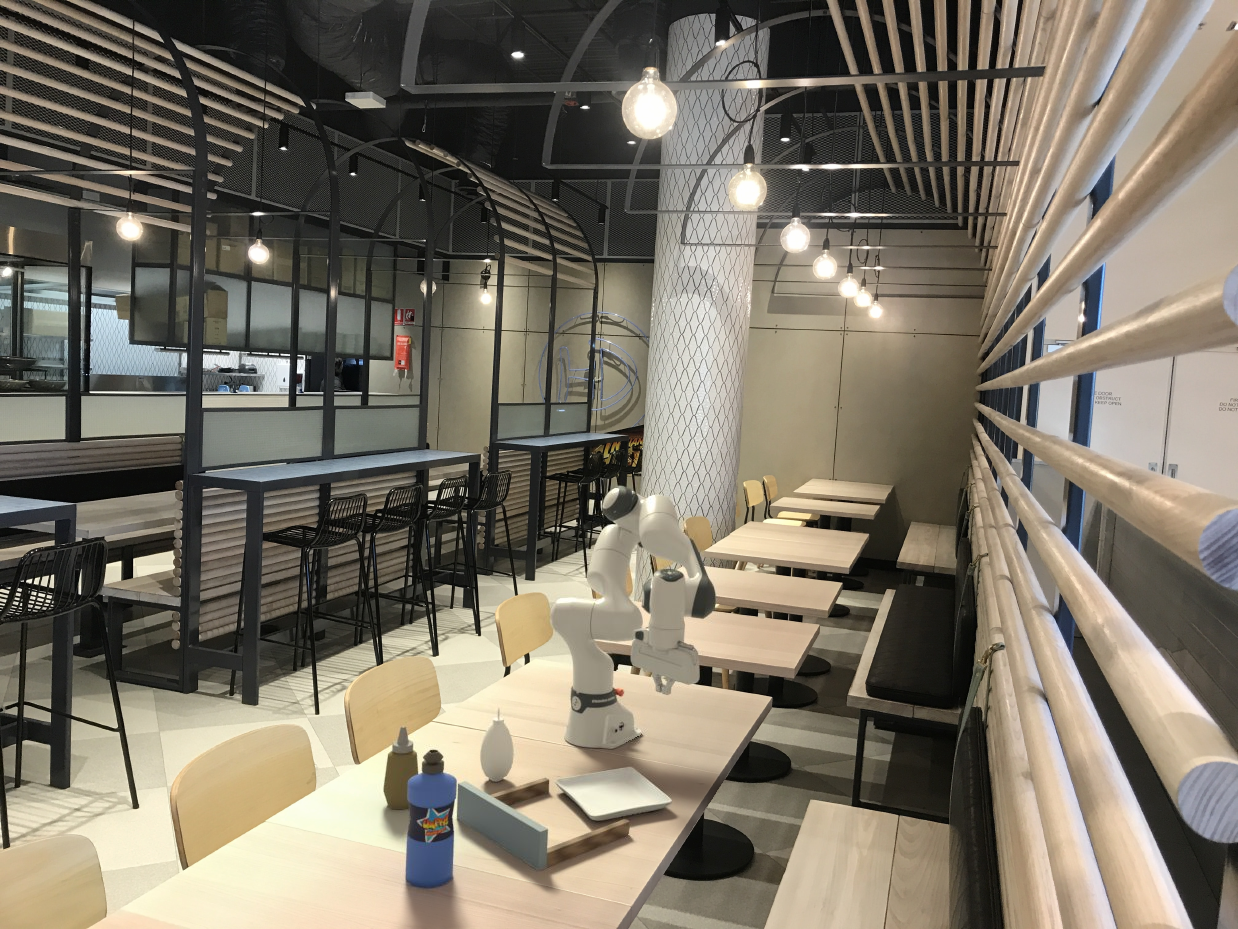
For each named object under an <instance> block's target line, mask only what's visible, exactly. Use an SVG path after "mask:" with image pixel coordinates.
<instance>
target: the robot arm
mask: <svg viewBox="0 0 1238 929" xmlns="http://www.w3.org/2000/svg"><path fill="white" fill-rule="evenodd" d="M601 510H602V511H601V512H602V514H603V515H604V516H605V517H606V518H607V519H608V520H609V521H611V522H613V523H614V524H608V525H606V526H604V528H603V529H602V530H601V532H600V534H599V535H598V538H597V540H596V542H595V544H594V547H593V550H592V554H591V557H590V561H589V565H588V569H587V571H586V581H587V584H588V586H589V587H590V588H591V589H592V590H593V591H594V592H595V593H596V594H598V595H600V596H602V597H600V598H595V597H594V598H593V597H582V596H568V597H567V596H565V597H560V598H558V599H557V600H556V601H555V602H553V605H552V607H551V609H550V611H549V622H550V625H551V627H552V629H553V630H554V632H555V633H557V635H559V636H560V637H561V638H562V640H563V641H564V643H565V645H566V646H567V648H568V650H569V653H570V656H571V660H572V686H571V688H570V709H569V710H570V711H569V717H568V723H567V725H566V730H565V733H564V740H565V741H566V742H567V743H570V744H572V745H574V746H578V747H582V748H593V749H595V748H602V749H609V750H612V749H613V750H614V749H616V748H619V747H620V746H622V745H625V744H626V742H627V743H628V741H629V740H631V741H633V740H635V739H636V738H635V737H637V736H639V737H641V736H642V735H643V730H642V729H641V728H639V727H638V726H637V725H635V718H634V714H633V713H632V712H633V711H631V710H630V708H628V707H627V706H626V705H625V704H622V702H620V701H619V700H618V698H617V696H618V697H624V695H625V690H624V689H623V688H620V687H616V688H615V687H614V673H615V671H614V670H615V668H614V667H615V665H614V661H613V659H612V657H611V656H610V655H609V654H608V653H607V652H605V651H604V650H602V649H600V647H599V646H598V645H597V643H596V641H595V640H598V641H606V642H607V641H608V642H614V643H615V642H616V643H617V642H618V643H619V642H621V643H622V642H630V641H632V643H631V650H630V663H631V664H632V666H633V667H635V668H639V669H642V670H644V671H647V672H650V673H652V679H653V682H654V684H655V689H654V690H655V691H656V692H657V693H661V694H663V695H666V696H670V695H671V694H672V687H673V685H674V684H675V683H676V682H677V683H681V684H685V685H687V686H689V685H693V684H696V683H698V682H699V680H700V661H699V652H698V649H697V648H696V647H695V646H694V645H693V644H691V643H690V644H689V643H686V642H685V633H686V632H685V630H686V624H685V617H686V618H687V617H688V618H692V619H693V618H694V619H701V620H703V619H705V618H707V617H708V616H710V615H711V614H712V613H713V612H714V611H715V609H716V604H717V594H716V589H715V586H714V584H713V582H712V581H711V579H710V578H709V575H708V573H707V570H706V567H705V564H704V562H703V560H702V557H701V554H700V551H699V549H698V547H697V545H696V543H695V541H694V540H693V539H692V538H691V537H689V536H688V535H686V533H684V532H683V530H682V529H681V527H680V524H679V523H680V522H679V517H678V514H677V509H676V507H675V505H674V503H673V501H672V500H671V498H669V497H668V496H666V495H664V494H653V495H650V496H647V497H644V496H642V495H640V494H639V493H638V492H636V491H635V490H633V489H632V488H630V487H627V486H624V485H617V486H614V487H612V488H611V489H610V490H609V491H608V492H607V493H606V494H605V497H603V500H602V504H601ZM636 545H638V547H639V548H642V549H644V551H645V552H647V553H648V555H651V556H652V557H654V558H658V559H661V560H665V561H669V562H672V563H674V564H675V563H676V564H678V565H679V566H682V567H683V568H684V569H685V570H686V573H687V576H688V578H687V577H685V574H684V573H683V572H682V571H680V570H677V569H674V568H660V569H658V570H656V571H655V572H654V573H653V576H652V577H650V578H649V579H647V580H646V582H644V583H643V584H642V590H643V591H642V600H641V608H643V610H644V611H645V612H646V613H647V614H648V615H650V617H649V620H648V625H647V626H646V627H643V624H644V620H643V614H642V612H641V610H640V608H639V607H638V606H637V605H636V604H635V603H634V602H633V601H632V600H631V599H630V597H629V594H628V591H627V580H628V579H627V578H628V572H629V568H630V563H631V559H632V554H633V549H634V547H636ZM662 677H664V678H665V682H666V683H665V684H664V683H663V679H662ZM641 734H642V735H641ZM640 735H641V736H640ZM634 738H635V739H634ZM637 738H638V737H637ZM632 739H633V740H632ZM629 742H630V741H629Z"/></svg>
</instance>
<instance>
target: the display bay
mask: <svg viewBox="0 0 1238 929" xmlns="http://www.w3.org/2000/svg"><path fill="white" fill-rule="evenodd" d="M549 792H550V778H547V777H543V778H540V779H537V780H533V781H529V782H527V783H525V784H521V785H517V786H513V787H511V788H508V789H506V790H502V791H499V792H498V791H497V792H495V793H492V794H488V793H486V792H485V791H483V790H481V789H480V788H479V787H477V786H475V785H473V784H471V783H470V782H468V781H466V780H465V781H462V782H457V795H456V799H457V802H456V819H457V820H458V821H460V822H462V823H463V824H465V825H466V826H468V827H469V828H471V829H473V830H475V832H477V833H479V834H480V835H481V836H484V837H485V838H487V839H489V840H490V841H491V842H493V843H494V844H496V845H498V846H500V847H501V848H503V849H504V850H506V851H507V852H509V853H510V854H512V855H513V856H515V857H517V859H520V860H522V861H523V862H524V863H526V864H528V865H529V866H530V867H532V868H533V869H536V871H538V872H539V871H541V870H544V869H546V868H549V867H551V866H553V865H556V864H558V863H561V862H564V861H567V860H569V859H572V858H574V857H577V856H579V855H581V854H584V853H586V852H588V851H591V850H594V849H596V848H599V847H602V846H604V845H607V844H609V843H612V842H615V841H617V840H618V839H619V840H620V839H623V838H625V837H626V836H625V835H627V836H629V835H628V834H630V820H628V819H626V818H623V819H621V820H619V821H615V822H612V823H610V824H608V825H605V826H602V827H600V828H597V829H594V830H591V831H590V832H586V833H584V834H581V835H578V836H576V837H573V838H570V839H568V840H565V841H562V842H561V843H558V844H555V845H553V846H550V847H548V842H549V840H548V839H549V828H547V827H546V826H544V825H542V824H540V823H539V822H538V821H536V820H533V819H532V818H530V817H528V816H526V815H524V814H523V813H521V812H520V811H518V810H516V809H514V808H513V807H511V806H510V805H513V804H516V803H519V802H523V801H526V800H529V799H531V798H532V799H533V798H534V797H538V796H541V795H544V794H547V793H549ZM616 839H617V840H616ZM611 841H612V842H611Z"/></svg>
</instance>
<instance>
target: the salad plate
mask: <svg viewBox="0 0 1238 929" xmlns="http://www.w3.org/2000/svg"><path fill="white" fill-rule="evenodd" d="M554 783H555V784H556V786H557V787H558V789H560V791H562V792H563V793H564V794H566V795H567V797H569V798H570V799H571V800H572V801H573V802H575V804H577V805H578V807H579V808H580V809H582V811H583V812H584V813H585V814H586V815H587V817H588V818H589V819H590V820H592V821H598V822H600V821H606V820H611V819H616V818H617V819H618V818H622V816H623V817H628V816H633V815H632V814H634V815H637V813H638V814H643V813H648V812H651V811H657V810H662V809H663V808H664V809H665V808H666V807H668V806H670V805H671V804H672V803H673V799H671V797H669V796H668V795H667V794H666V793H665V792H663V791H662V790H661V789H660V788H658V787H657V786H656V785H655V784H653V783H652V782H651V781H650V780H648V779H647V777H645V776H644V775H642V774H641V773H640V772H639V771H638V770H636V769H635V768H634V767H632V766H626V767H620V768H615V769H609V770H603V771H596V772H591V773H585V774H579V775H574V776H567V777H561V778H557V779H555V780H554ZM642 812H643V813H642ZM627 815H628V816H627Z"/></svg>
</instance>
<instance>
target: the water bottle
mask: <svg viewBox="0 0 1238 929" xmlns="http://www.w3.org/2000/svg"><path fill="white" fill-rule="evenodd" d="M422 759H423V761H421V773H418V775H415V776H413V777H411V778H410V779H409V780H408V790H407V799H408V804H409V808H408V813H409V815H408V816H409V822H408V827H407V832H406V849H405V850H406V851H405V853H406V854H405V880H406V883H408V884H409V885H410V886H412V887H416V888H420V889H433V888H438V887H441V886H444V885H446V884H448V883H449V882H451V880H452V879H453V875H454V874H453V872H454V852H455V851H454V848H455V847H454V846H455V829H454V819H453V817H454V816H453V815H454V811H455V810H454V809H455V802H456V799H457V792H458V780H457V778H456V777H455V776H454V775H452V774H450V773H446V772H444V771H445V761H444V760H443V759H444V755H443V754H442V753H441V751H439V750H438V749H430V750H428V751H427V752H426V753H425V754H424V755H423V756H422Z"/></svg>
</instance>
